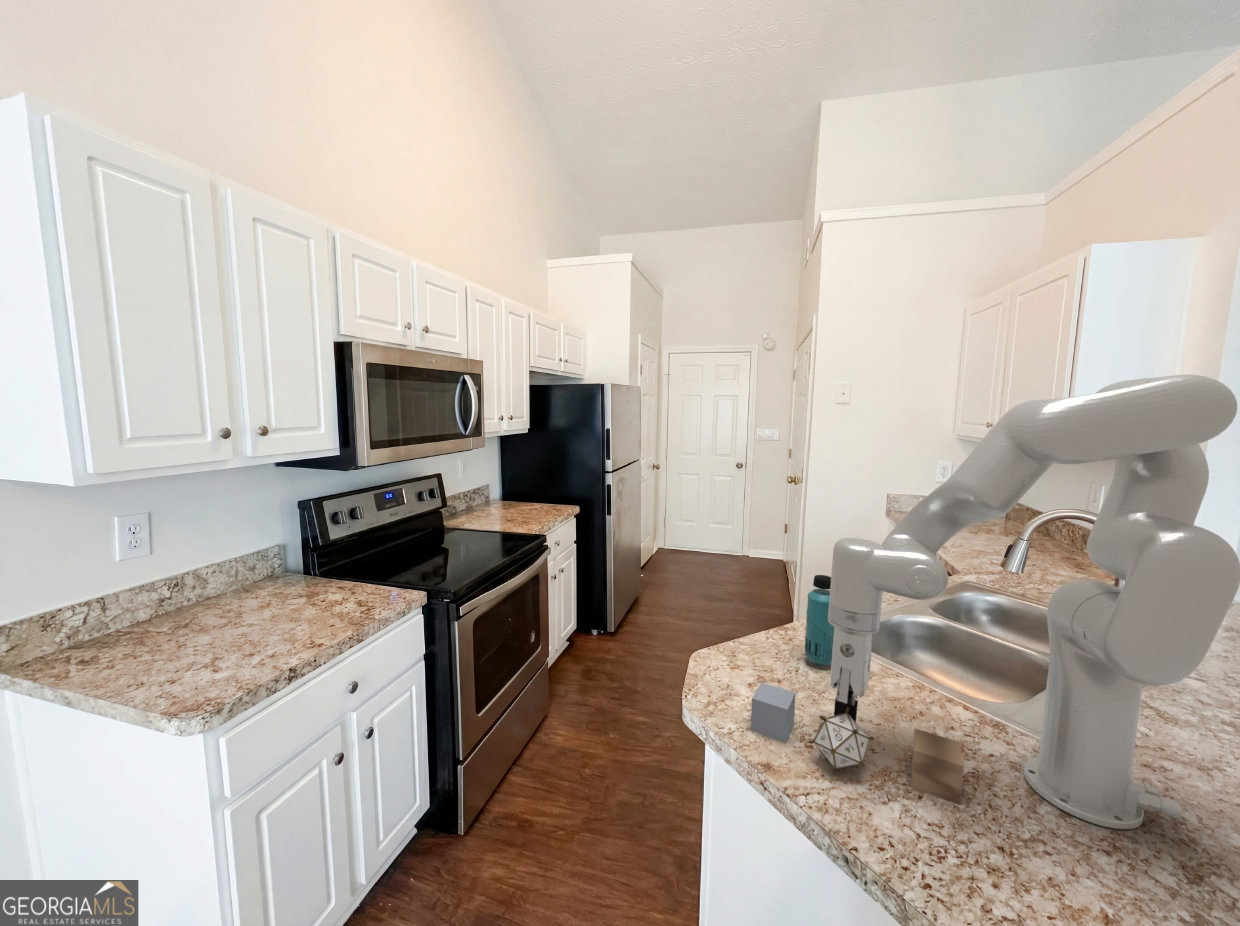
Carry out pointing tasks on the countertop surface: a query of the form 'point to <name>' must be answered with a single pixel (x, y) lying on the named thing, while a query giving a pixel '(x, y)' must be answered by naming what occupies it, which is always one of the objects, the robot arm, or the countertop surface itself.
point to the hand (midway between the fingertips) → (844, 722)
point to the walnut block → (937, 766)
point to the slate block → (773, 712)
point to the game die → (841, 741)
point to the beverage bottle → (819, 623)
